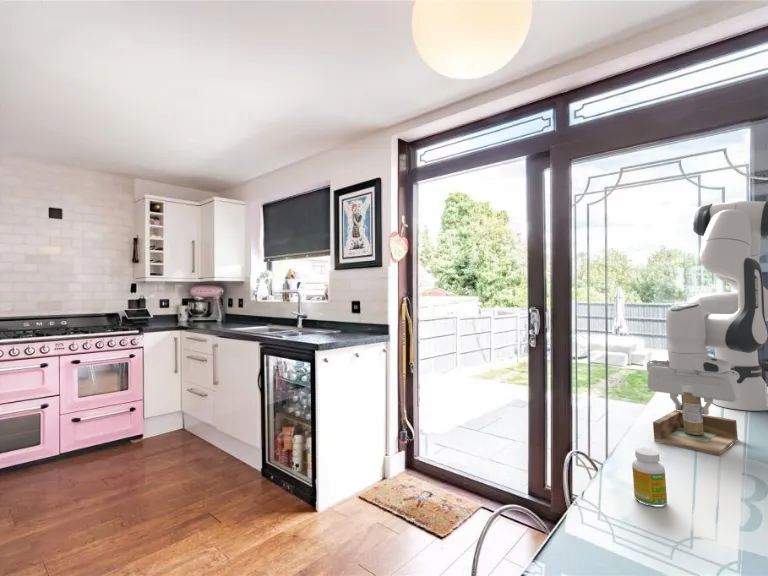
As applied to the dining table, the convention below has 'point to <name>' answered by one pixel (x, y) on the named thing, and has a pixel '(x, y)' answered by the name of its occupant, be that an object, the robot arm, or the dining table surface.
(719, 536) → the dining table surface
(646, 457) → the supplement bottle
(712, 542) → the dining table surface
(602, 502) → the dining table surface
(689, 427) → the sprinkles bottle
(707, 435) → the corner arena
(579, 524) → the dining table surface
